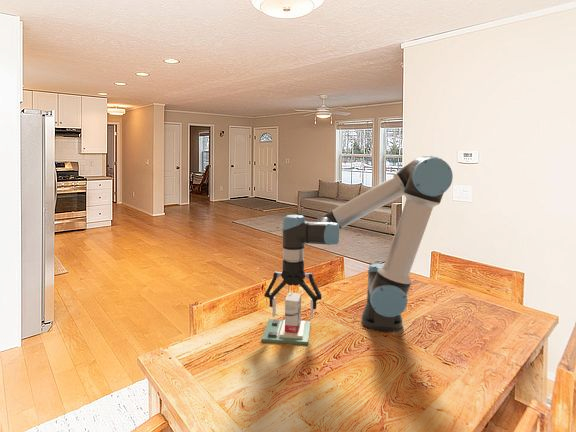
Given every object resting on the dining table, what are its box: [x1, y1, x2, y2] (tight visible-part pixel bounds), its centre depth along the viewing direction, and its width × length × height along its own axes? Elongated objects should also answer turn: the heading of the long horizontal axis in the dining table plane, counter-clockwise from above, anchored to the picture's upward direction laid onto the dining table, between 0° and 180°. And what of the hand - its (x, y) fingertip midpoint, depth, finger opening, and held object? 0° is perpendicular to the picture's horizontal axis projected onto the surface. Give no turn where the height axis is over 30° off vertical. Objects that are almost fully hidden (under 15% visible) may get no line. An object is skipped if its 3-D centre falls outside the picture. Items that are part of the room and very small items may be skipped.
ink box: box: [284, 291, 302, 333], centre depth 136 cm, size 9×5×12 cm, turn 170°
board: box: [260, 318, 311, 346], centre depth 138 cm, size 16×16×2 cm
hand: (292, 316), depth 137 cm, fingers open, 13 cm apart
